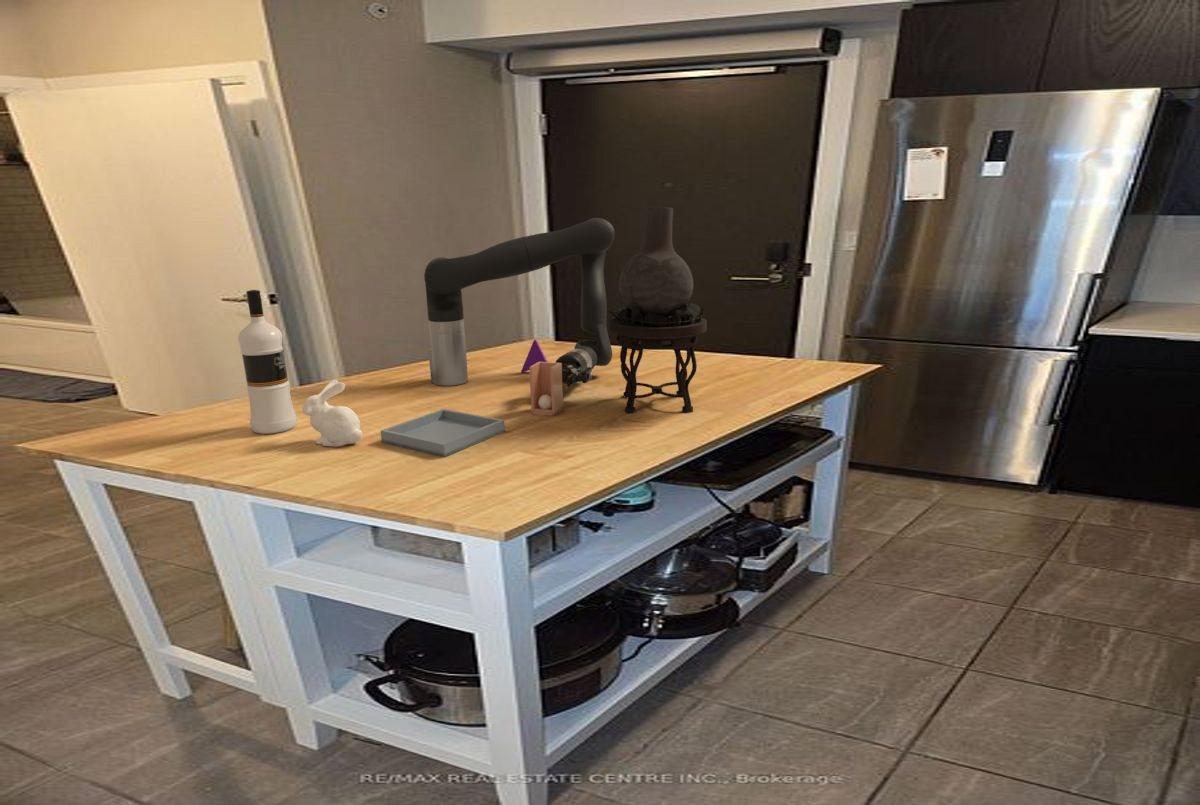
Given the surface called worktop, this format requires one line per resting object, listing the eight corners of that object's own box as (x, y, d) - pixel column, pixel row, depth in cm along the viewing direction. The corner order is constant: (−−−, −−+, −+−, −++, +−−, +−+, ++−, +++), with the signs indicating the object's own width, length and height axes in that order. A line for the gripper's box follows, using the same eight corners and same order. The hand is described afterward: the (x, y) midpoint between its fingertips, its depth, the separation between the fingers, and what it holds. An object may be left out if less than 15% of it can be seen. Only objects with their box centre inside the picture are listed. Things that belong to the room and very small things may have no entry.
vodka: (251, 425, 149) (228, 289, 141) (297, 419, 153) (277, 286, 144) (251, 437, 141) (226, 293, 133) (299, 431, 145) (278, 290, 136)
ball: (537, 410, 155) (533, 400, 152) (545, 400, 157) (541, 390, 154) (549, 414, 153) (546, 403, 151) (557, 404, 155) (554, 393, 153)
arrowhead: (537, 386, 195) (560, 363, 192) (536, 388, 193) (560, 364, 191) (512, 362, 194) (535, 338, 191) (511, 364, 192) (534, 339, 190)
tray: (381, 442, 136) (380, 430, 136) (444, 419, 151) (443, 408, 150) (445, 457, 127) (444, 444, 127) (505, 431, 142) (504, 420, 141)
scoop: (531, 414, 153) (529, 367, 150) (540, 407, 159) (538, 361, 156) (554, 415, 152) (552, 368, 149) (563, 408, 157) (561, 362, 154)
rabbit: (302, 444, 136) (293, 387, 133) (335, 430, 144) (328, 376, 141) (349, 451, 132) (341, 392, 128) (381, 436, 140) (374, 380, 137)
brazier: (598, 413, 153) (594, 207, 140) (622, 389, 173) (620, 207, 161) (697, 420, 147) (702, 205, 134) (709, 393, 168) (714, 205, 155)
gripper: (546, 350, 172) (521, 363, 157) (600, 352, 168) (579, 366, 153) (548, 378, 174) (523, 394, 159) (600, 381, 170) (580, 398, 155)
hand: (551, 381), depth 156 cm, fingers open, 8 cm apart
